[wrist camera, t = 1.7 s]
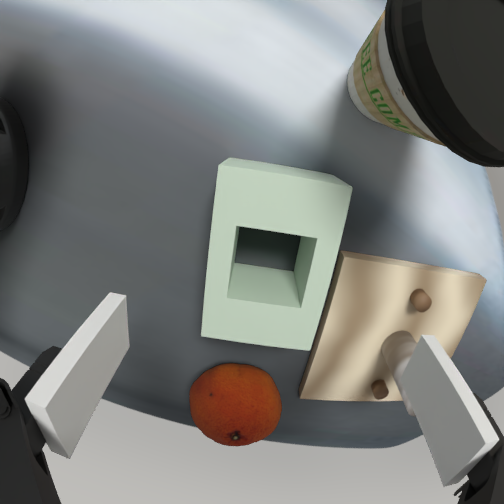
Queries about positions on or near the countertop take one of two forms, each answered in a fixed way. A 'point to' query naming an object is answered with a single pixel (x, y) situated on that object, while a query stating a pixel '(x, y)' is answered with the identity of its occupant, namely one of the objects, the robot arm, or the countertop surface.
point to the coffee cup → (437, 74)
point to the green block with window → (269, 279)
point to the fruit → (235, 404)
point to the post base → (384, 325)
